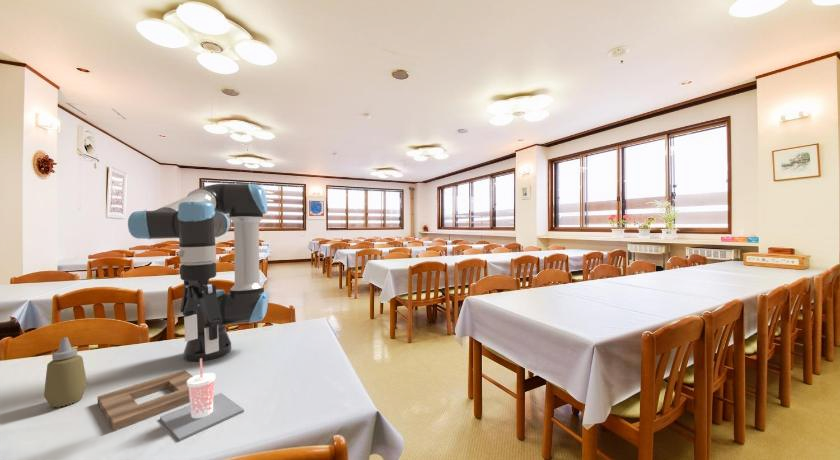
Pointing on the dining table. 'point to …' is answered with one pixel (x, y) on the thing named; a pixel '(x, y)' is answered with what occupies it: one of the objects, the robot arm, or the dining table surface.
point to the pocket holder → (128, 412)
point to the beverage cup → (201, 393)
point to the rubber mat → (188, 426)
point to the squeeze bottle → (65, 376)
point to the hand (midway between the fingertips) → (201, 345)
